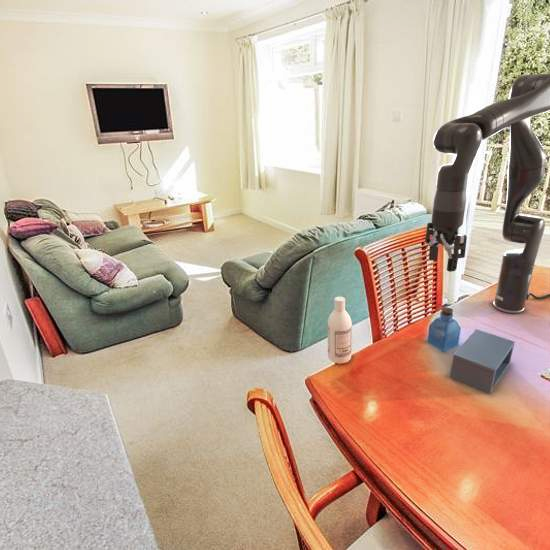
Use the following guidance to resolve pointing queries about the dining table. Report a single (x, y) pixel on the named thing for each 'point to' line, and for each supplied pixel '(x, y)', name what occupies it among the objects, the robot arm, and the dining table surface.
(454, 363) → the shelf
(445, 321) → the perfume bottle
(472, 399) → the dining table surface
